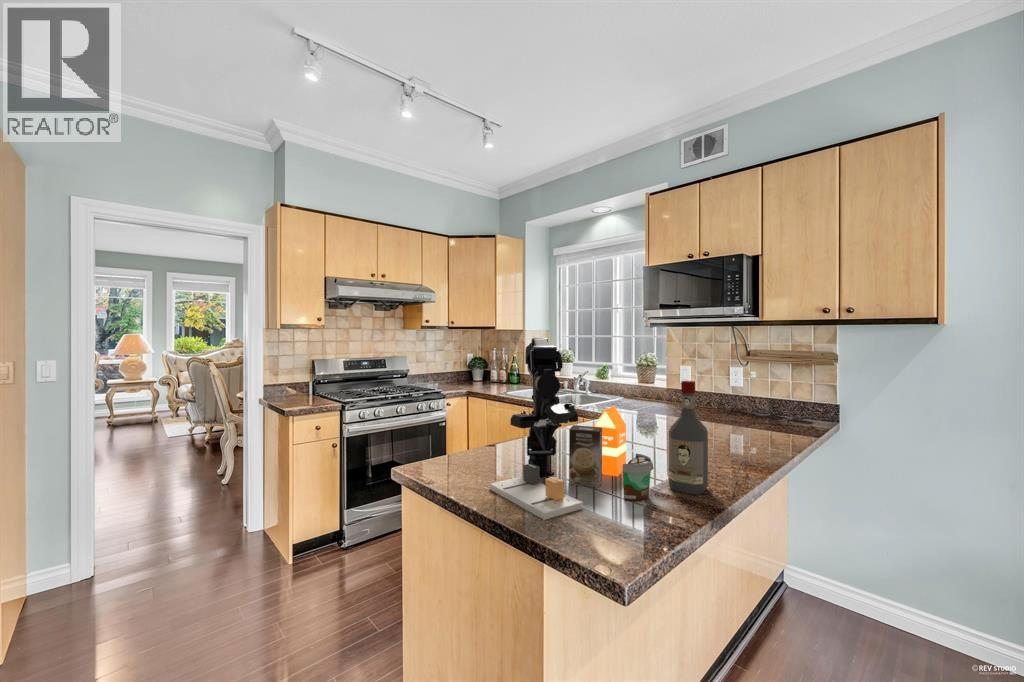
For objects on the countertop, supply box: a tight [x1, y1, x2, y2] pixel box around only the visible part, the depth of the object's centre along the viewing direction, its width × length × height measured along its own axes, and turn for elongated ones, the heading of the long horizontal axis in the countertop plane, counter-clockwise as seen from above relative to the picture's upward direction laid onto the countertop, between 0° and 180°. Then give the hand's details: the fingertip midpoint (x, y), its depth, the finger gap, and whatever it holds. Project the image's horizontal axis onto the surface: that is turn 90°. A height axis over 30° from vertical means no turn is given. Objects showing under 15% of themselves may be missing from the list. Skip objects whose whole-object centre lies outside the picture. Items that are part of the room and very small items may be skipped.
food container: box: [622, 453, 654, 503], centre depth 119 cm, size 12×6×10 cm, turn 148°
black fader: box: [522, 463, 541, 484], centre depth 126 cm, size 3×4×5 cm
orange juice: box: [592, 406, 627, 477], centre depth 142 cm, size 8×9×20 cm
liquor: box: [668, 380, 709, 496], centre depth 125 cm, size 9×9×30 cm
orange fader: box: [544, 476, 565, 501], centre depth 114 cm, size 3×4×5 cm
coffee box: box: [568, 424, 603, 488], centre depth 131 cm, size 9×6×16 cm
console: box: [489, 475, 584, 521], centre depth 118 cm, size 12×25×2 cm, turn 33°
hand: (545, 450), depth 120 cm, fingers closed
